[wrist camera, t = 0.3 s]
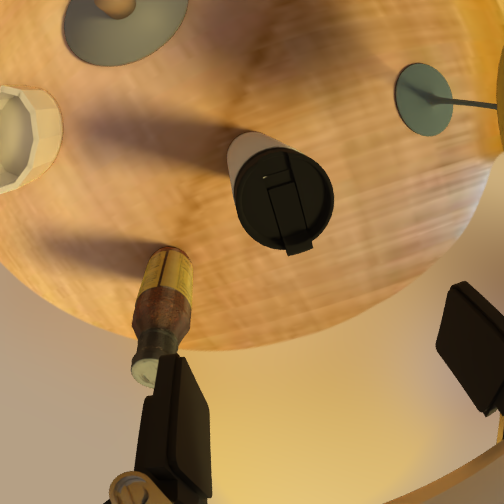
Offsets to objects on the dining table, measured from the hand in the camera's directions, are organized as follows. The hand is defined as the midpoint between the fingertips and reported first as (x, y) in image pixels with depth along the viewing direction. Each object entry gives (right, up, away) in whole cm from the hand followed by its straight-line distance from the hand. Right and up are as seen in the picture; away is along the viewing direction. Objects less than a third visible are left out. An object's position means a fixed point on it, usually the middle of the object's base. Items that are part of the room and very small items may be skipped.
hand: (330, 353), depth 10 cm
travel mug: (-2, +15, +27) cm, 31 cm away
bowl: (-33, +19, +21) cm, 43 cm away
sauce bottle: (-13, +2, +32) cm, 34 cm away
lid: (-18, +33, +16) cm, 41 cm away
